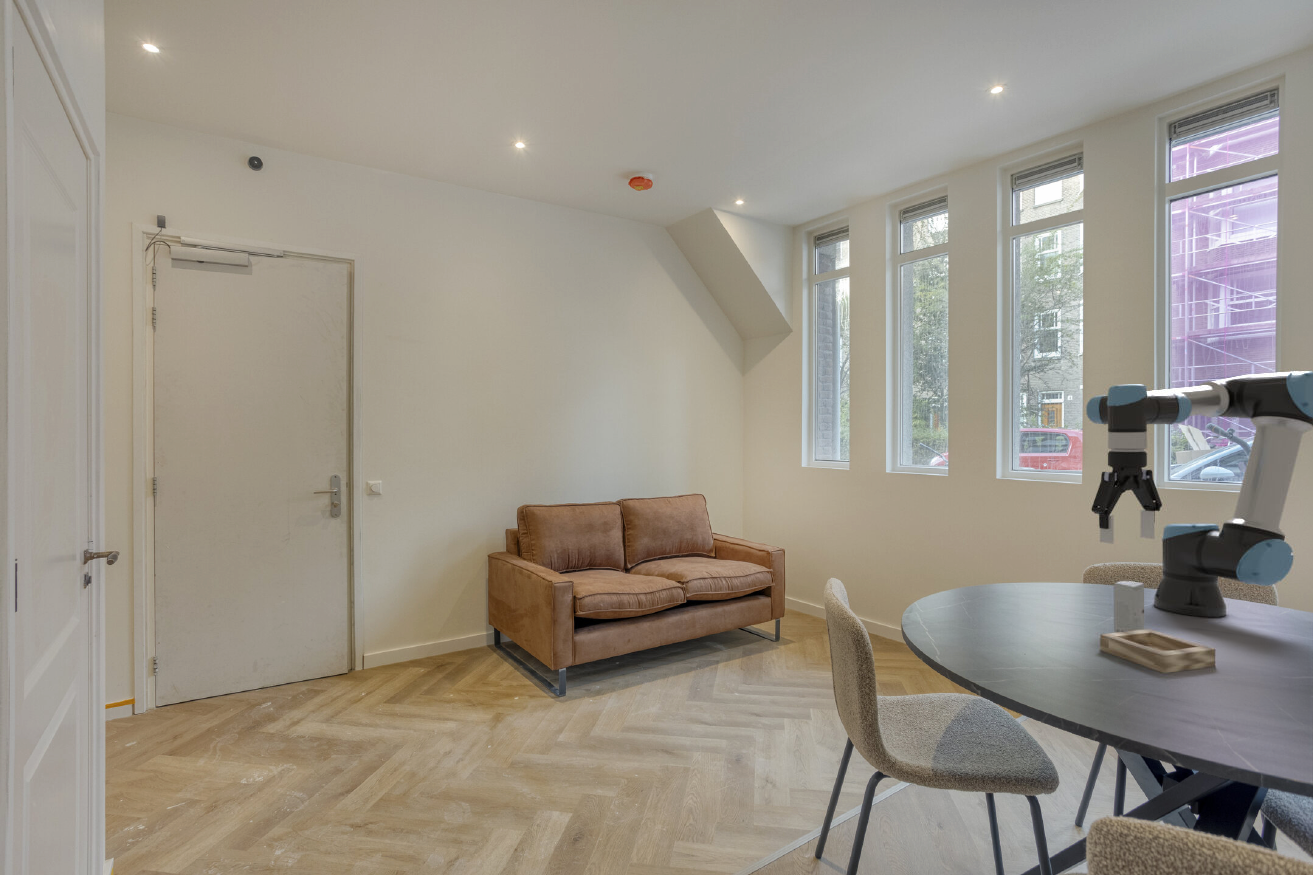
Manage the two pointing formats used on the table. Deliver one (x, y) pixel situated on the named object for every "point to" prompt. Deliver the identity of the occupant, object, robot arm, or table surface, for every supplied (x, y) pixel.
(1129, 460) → the robot arm
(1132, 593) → the skincare box
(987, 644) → the table surface
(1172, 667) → the holder
